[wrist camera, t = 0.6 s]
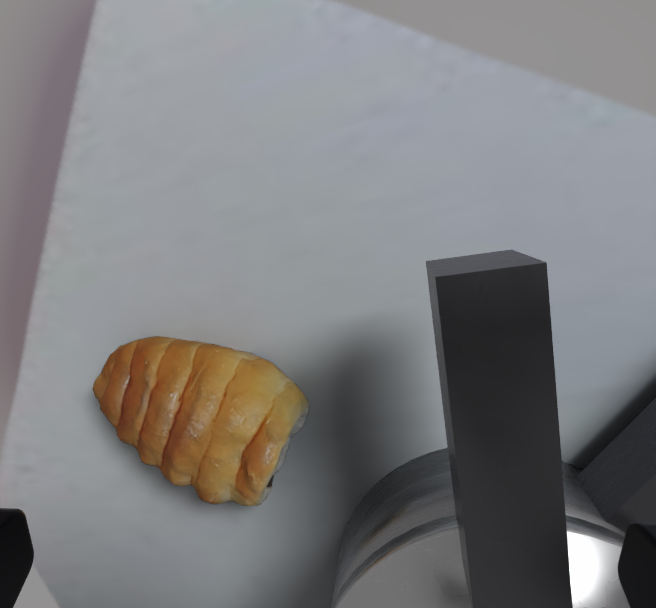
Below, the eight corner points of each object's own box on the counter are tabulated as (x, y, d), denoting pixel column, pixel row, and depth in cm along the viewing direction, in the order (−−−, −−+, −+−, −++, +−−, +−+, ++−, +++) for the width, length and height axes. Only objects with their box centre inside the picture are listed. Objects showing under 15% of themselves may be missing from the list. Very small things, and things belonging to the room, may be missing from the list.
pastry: (98, 420, 25) (47, 458, 21) (138, 296, 23) (90, 312, 20) (273, 497, 24) (252, 548, 21) (324, 375, 23) (311, 407, 19)
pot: (890, 425, 20) (1049, 496, 15) (461, 794, 26) (476, 929, 21) (612, 213, 20) (683, 216, 15) (244, 633, 26) (209, 732, 21)
